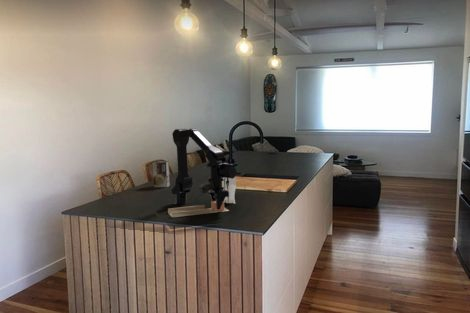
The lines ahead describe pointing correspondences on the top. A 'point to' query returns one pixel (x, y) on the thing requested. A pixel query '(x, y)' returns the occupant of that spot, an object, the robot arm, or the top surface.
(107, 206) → the top surface
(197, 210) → the beige open frame tray
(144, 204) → the top surface
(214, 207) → the block
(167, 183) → the coffee box
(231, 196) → the beer glass
